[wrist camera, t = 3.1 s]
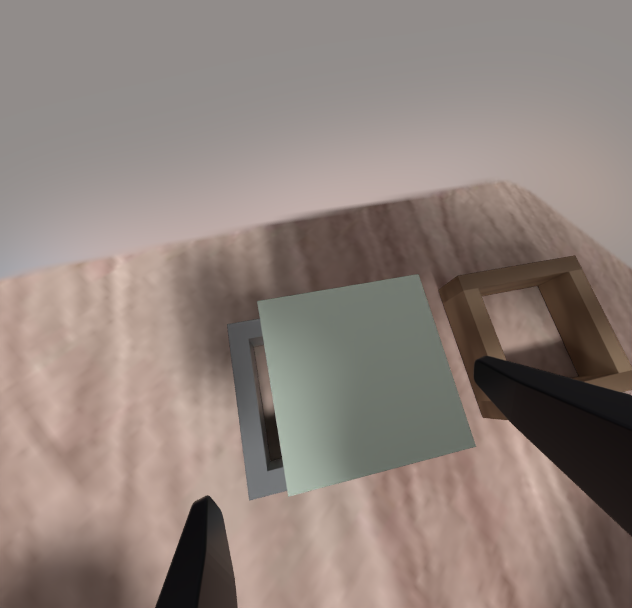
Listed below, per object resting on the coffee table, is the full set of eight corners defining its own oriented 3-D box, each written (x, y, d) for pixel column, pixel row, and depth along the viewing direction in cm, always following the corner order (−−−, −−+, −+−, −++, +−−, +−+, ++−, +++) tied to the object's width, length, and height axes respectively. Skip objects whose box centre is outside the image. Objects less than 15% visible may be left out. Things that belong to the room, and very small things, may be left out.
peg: (355, 416, 18) (476, 446, 6) (288, 432, 17) (288, 496, 6) (339, 350, 19) (418, 273, 7) (276, 362, 18) (257, 300, 7)
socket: (401, 448, 17) (419, 455, 15) (255, 485, 16) (249, 500, 14) (364, 310, 20) (375, 298, 17) (235, 334, 18) (226, 324, 16)
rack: (598, 388, 19) (641, 387, 17) (482, 417, 18) (511, 420, 16) (544, 271, 22) (575, 255, 19) (438, 289, 21) (457, 275, 18)
